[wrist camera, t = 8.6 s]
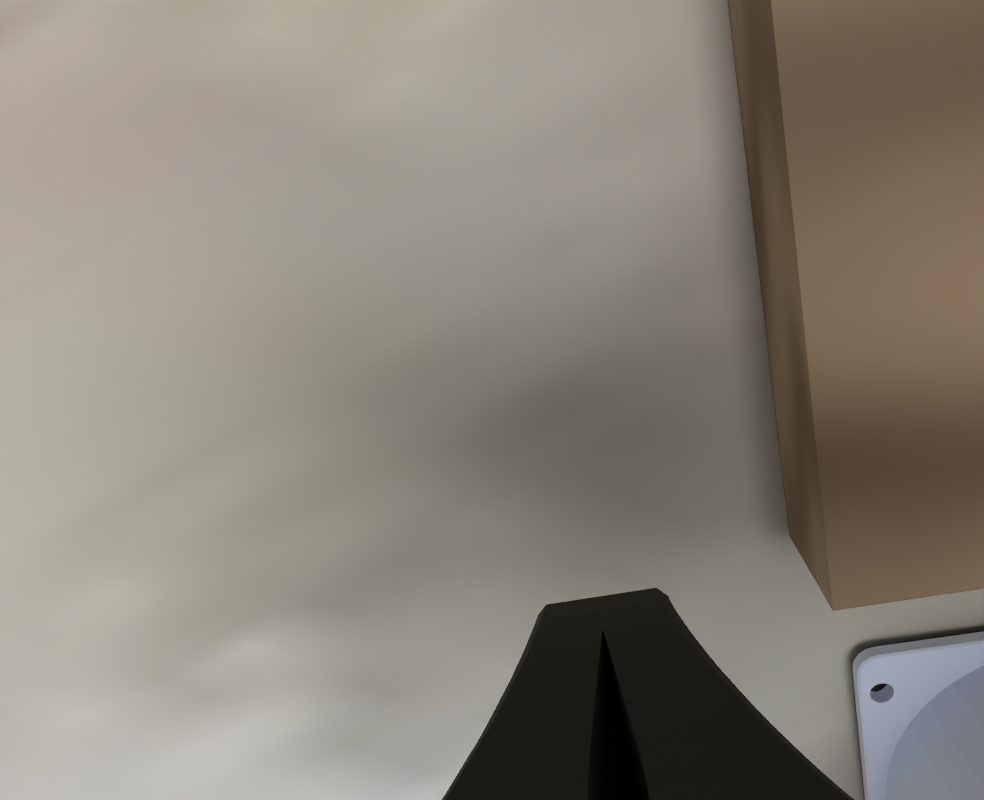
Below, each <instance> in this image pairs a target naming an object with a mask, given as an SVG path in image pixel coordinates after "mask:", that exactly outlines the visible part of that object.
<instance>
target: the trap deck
mask: <svg viewBox="0 0 984 800" xmlns="http://www.w3.org/2000/svg"><path fill="white" fill-rule="evenodd" d="M728 5H729V14H730V23H731V31H732V40H733V49H734V57H735V66H736V75H737V83H738V92H739V101H740V109H741V118H742V127H743V135H744V144H745V153H746V161H747V170H748V179H749V187H750V196H751V204H752V213H753V222H754V230H755V239H756V248H757V256H758V265H759V274H760V282H761V291H762V300H763V308H764V317H765V326H766V334H767V343H768V352H769V360H770V369H771V378H772V386H773V395H774V403H775V412H776V421H777V429H778V438H779V447H780V455H781V464H782V473H783V481H784V490H785V499H786V507H787V516H788V525H789V533H790V537H791V539H792V541H793V542H794V544H795V546H796V548H797V549H798V551H799V553H800V555H801V556H802V558H803V560H804V561H805V563H806V565H807V567H808V568H809V570H810V572H811V574H812V575H813V577H814V579H815V580H816V582H817V584H818V586H819V587H820V589H821V591H822V592H823V594H824V596H825V598H826V599H827V601H828V603H829V605H830V606H831V608H832V610H840V609H846V608H853V607H860V606H867V605H874V604H881V603H887V602H894V601H901V600H908V599H915V598H922V597H928V596H935V595H942V594H949V593H956V592H962V591H969V590H976V589H983V588H984V0H728Z"/></svg>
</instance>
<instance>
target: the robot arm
mask: <svg viewBox="0 0 984 800" xmlns="http://www.w3.org/2000/svg"><path fill="white" fill-rule="evenodd" d="M852 669H853V680H854V690H855V700H856V711H857V721H858V732H859V742H860V753H861V763H862V774H863V784H864V794H865V800H984V631H983V632H976V633H969V634H962V635H954V636H947V637H940V638H933V639H926V640H919V641H912V642H905V643H898V644H891V645H883V646H876V647H871V648H868V649H865V650H863V651H862V652H861V653H859V654H858V655H857V657H856V658H855V660H854V661H853V668H852ZM880 683H884V684H887V685H886V686H885V687H884V688H883V689H882V690H880V691H877V692H874V691H871V689H872V688H873V687H874V686H875V685H878V684H880ZM442 800H854V799H853V798H851V797H850V796H849V795H848V794H846V793H845V792H844V791H843V790H842V789H841V788H839V787H838V786H837V785H836V784H835V783H834V782H833V781H831V780H830V779H829V778H828V777H827V776H826V775H825V774H823V773H822V772H821V771H820V770H819V769H818V768H817V767H816V766H815V765H814V764H812V763H811V762H810V761H809V760H808V759H807V758H806V757H805V756H804V755H803V754H802V753H801V752H800V751H799V750H797V749H796V748H795V747H794V746H793V745H792V744H791V743H790V742H789V741H788V740H787V739H786V738H785V737H784V736H783V735H782V734H781V733H780V732H779V731H778V730H777V729H776V728H775V727H774V726H773V725H772V724H771V723H770V722H769V721H768V720H767V719H766V718H765V717H764V716H763V715H762V714H761V713H760V712H759V711H758V710H757V709H756V708H755V707H754V706H753V705H752V704H751V703H750V702H749V701H748V699H747V698H746V697H745V696H744V695H743V694H742V693H741V692H740V691H739V689H738V688H737V687H736V686H735V685H734V684H733V683H732V682H731V681H730V679H729V678H728V677H727V676H726V675H725V674H724V673H723V672H722V671H721V669H720V668H719V667H718V666H717V665H716V664H715V662H714V661H713V660H712V659H711V658H710V656H709V655H708V654H707V653H706V651H705V650H704V649H703V648H702V646H701V645H700V644H699V642H698V641H697V640H696V639H695V637H694V636H693V635H692V633H691V632H690V631H689V629H688V628H687V626H686V625H685V624H684V622H683V621H682V619H681V618H680V616H679V615H678V613H677V612H676V610H675V608H674V607H673V605H672V603H671V601H670V599H669V597H668V596H667V595H666V594H664V593H663V592H662V591H660V590H659V589H657V588H652V589H646V590H639V591H633V592H626V593H620V594H613V595H606V596H600V597H593V598H587V599H580V600H574V601H567V602H561V603H554V604H548V605H546V606H545V607H544V608H543V610H542V611H541V612H540V614H539V615H538V617H537V620H536V623H535V625H534V628H533V631H532V633H531V636H530V638H529V640H528V643H527V645H526V647H525V650H524V652H523V654H522V657H521V659H520V661H519V663H518V665H517V667H516V669H515V671H514V674H513V676H512V678H511V680H510V682H509V684H508V686H507V688H506V690H505V692H504V694H503V696H502V697H501V699H500V701H499V703H498V705H497V707H496V709H495V711H494V713H493V715H492V717H491V718H490V720H489V722H488V724H487V726H486V728H485V730H484V731H483V733H482V735H481V737H480V739H479V740H478V742H477V744H476V745H475V747H474V749H473V750H472V752H471V753H470V755H469V757H468V758H467V760H466V762H465V763H464V765H463V767H462V768H461V770H460V771H459V773H458V775H457V776H456V778H455V780H454V781H453V783H452V784H451V786H450V788H449V789H448V791H447V793H446V794H445V796H444V797H443V799H442Z"/></svg>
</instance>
